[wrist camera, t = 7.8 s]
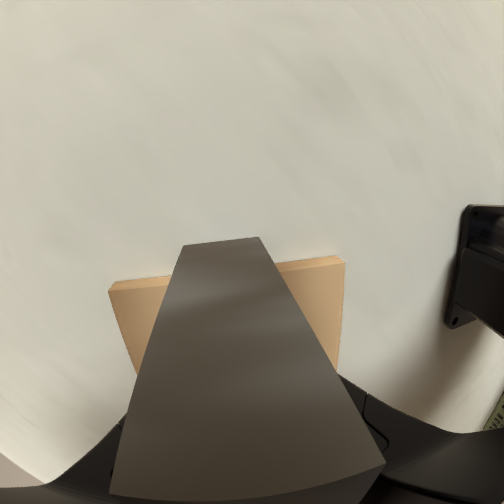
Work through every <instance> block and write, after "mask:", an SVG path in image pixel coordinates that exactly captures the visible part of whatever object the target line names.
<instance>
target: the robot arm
mask: <svg viewBox="0 0 504 504" xmlns="http://www.w3.org/2000/svg"><path fill="white" fill-rule="evenodd" d="M476 319H478V320H479V321H481V322H482V323H483V324H485V325H486V326H487V327H489V328H490V329H491V330H493V331H494V332H495V333H497V334H498V335H499V336H501V337H502V338H503V339H504V206H501V205H472V204H470V205H468V206H467V207H466V209H465V211H464V218H463V228H462V236H461V244H460V251H459V257H458V263H457V269H456V274H455V279H454V284H453V289H452V293H451V297H450V302H449V306H448V310H447V313H446V317H445V321H444V324H445V325H446V326H447V327H448V328H449V329H454V328H457V327H459V326H462V325H464V324H467V323H469V322H472V321H474V320H476ZM337 374H338V373H337ZM338 376H339V377H340V379H341V381H342V383H343V385H344V386H345V388H346V390H347V392H348V394H349V395H350V397H351V399H352V401H353V403H354V404H355V406H356V408H357V410H358V412H359V413H360V415H361V417H362V419H363V421H364V423H365V424H366V426H367V428H368V430H369V432H370V434H371V435H372V437H373V439H374V441H375V443H376V445H377V446H378V448H379V450H380V452H381V454H382V456H383V457H384V459H385V461H386V464H385V466H384V467H383V469H382V471H381V472H380V474H379V475H378V477H377V478H376V480H375V481H374V483H373V484H372V486H371V487H370V489H369V490H368V491H367V493H366V494H365V496H364V497H363V498H362V500H361V501H360V502H359V504H504V427H500V428H495V429H490V430H485V431H479V432H473V433H453V432H449V431H446V430H443V429H440V428H438V427H435V426H433V425H430V424H428V423H425V422H423V421H421V420H418V419H416V418H414V417H411V416H409V415H407V414H405V413H403V412H401V411H399V410H397V409H395V408H392V407H391V406H389V405H387V404H385V403H384V402H382V401H380V400H378V399H377V398H375V397H374V396H372V395H370V394H367V392H365V391H364V390H362V389H361V388H359V387H358V386H356V385H354V384H353V383H351V382H350V381H348V380H347V379H345V378H344V377H342V376H341V375H339V374H338ZM126 415H127V413H126V414H125V415H124V416H123V418H122V419H121V420H120V421H119V422H118V424H116V425H115V426H114V427H113V428H112V430H111V431H110V432H109V433H108V434H107V435H106V436H105V437H104V438H103V439H102V440H101V441H100V442H99V443H98V444H97V445H96V446H95V447H94V448H93V449H91V450H90V451H89V452H88V453H87V454H86V455H85V456H83V457H82V458H81V459H80V460H79V461H78V462H76V463H75V464H74V465H73V466H72V467H70V468H69V469H68V470H67V471H65V472H64V473H63V474H62V475H61V476H59V477H58V478H57V479H55V480H53V481H51V482H49V483H47V484H44V485H40V486H30V487H14V488H13V487H12V488H0V504H121V503H120V502H119V501H117V500H116V499H115V498H114V497H112V496H111V495H110V494H109V490H110V484H111V479H112V474H113V469H114V465H115V460H116V456H117V451H118V447H119V443H120V439H121V434H122V430H123V427H124V423H125V419H126Z"/></svg>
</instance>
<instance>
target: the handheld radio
mask: <svg viewBox="0 0 504 504" xmlns="http://www.w3.org/2000/svg"><path fill="white" fill-rule="evenodd" d="M500 427H504V393H503V394H502V396H501V398H500V400H499V402H498V404H497V406H496V408H495V410H494V411H493V413H492V415H491V417H490V418H489V420H488V422H487V423H486V425H485V427H484V428H483V430H484V431H485V430H490V429H495V428H500Z"/></svg>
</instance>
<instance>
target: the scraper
mask: <svg viewBox="0 0 504 504" xmlns="http://www.w3.org/2000/svg"><path fill="white" fill-rule="evenodd" d="M344 275H345V263H344V262H343V261H342V260H341V259H340V258H338V257H337V256H329V257H321V258H314V259H306V260H298V261H290V262H282V263H275V264H274V262H273V260H272V259H271V257H270V255H269V254H268V252H267V250H266V248H265V247H264V245H263V243H262V242H261V240H260V238H259V237H253V238H244V239H236V240H227V241H218V242H210V243H202V244H193V245H185V246H183V248H182V251H181V253H180V256H179V258H178V261H177V263H176V266H175V268H174V271H173V274H172V276H164V277H155V278H146V279H137V280H127V281H118V282H115V283H114V284H113V285H112V286H111V288H110V289H109V290H108V293H109V297H110V300H111V303H112V307H113V310H114V313H115V316H116V319H117V322H118V325H119V328H120V331H121V334H122V337H123V339H124V342H125V345H126V348H127V350H128V353H129V355H130V358H131V361H132V363H133V366H134V368H135V370H136V373H137V375H138V376H137V379H136V383H135V386H134V390H133V393H132V397H131V400H130V404H129V408H128V411H127V415H126V419H125V423H124V427H123V430H122V434H121V439H120V443H119V447H118V451H117V456H116V460H115V465H114V469H113V474H112V479H111V484H110V490H109V494H110V495H111V496H112V497H114V498H115V499H116V500H117V501H119V502H120V503H121V504H359V502H360V501H361V500H362V498H363V497H364V496H365V494H366V493H367V491H368V490H369V489H370V487H371V486H372V484H373V483H374V481H375V480H376V478H377V477H378V475H379V474H380V472H381V471H382V469H383V467H384V466H385V464H386V461H385V459H384V457H383V456H382V454H381V452H380V450H379V448H378V446H377V445H376V443H375V441H374V439H373V437H372V435H371V434H370V432H369V430H368V428H367V426H366V424H365V423H364V421H363V419H362V417H361V415H360V413H359V412H358V410H357V408H356V406H355V404H354V403H353V401H352V399H351V397H350V395H349V394H348V392H347V390H346V388H345V386H344V385H343V383H342V381H341V379H340V377H339V376H338V374H337V372H336V370H337V362H338V354H339V344H340V334H341V323H342V310H343V295H344Z"/></svg>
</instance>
